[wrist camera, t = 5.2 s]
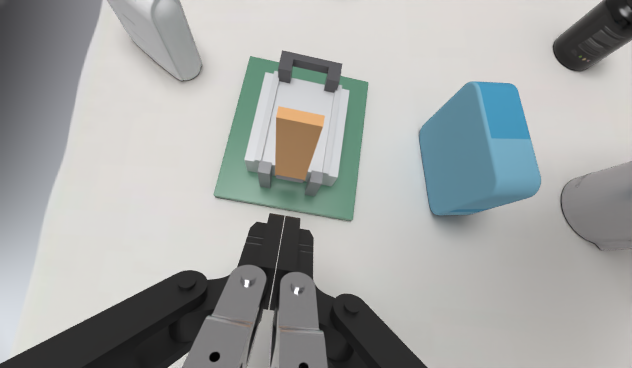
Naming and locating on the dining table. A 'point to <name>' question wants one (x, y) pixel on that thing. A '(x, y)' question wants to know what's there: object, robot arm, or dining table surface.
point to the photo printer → (161, 34)
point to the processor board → (285, 188)
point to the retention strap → (295, 142)
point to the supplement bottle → (595, 35)
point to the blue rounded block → (478, 151)
